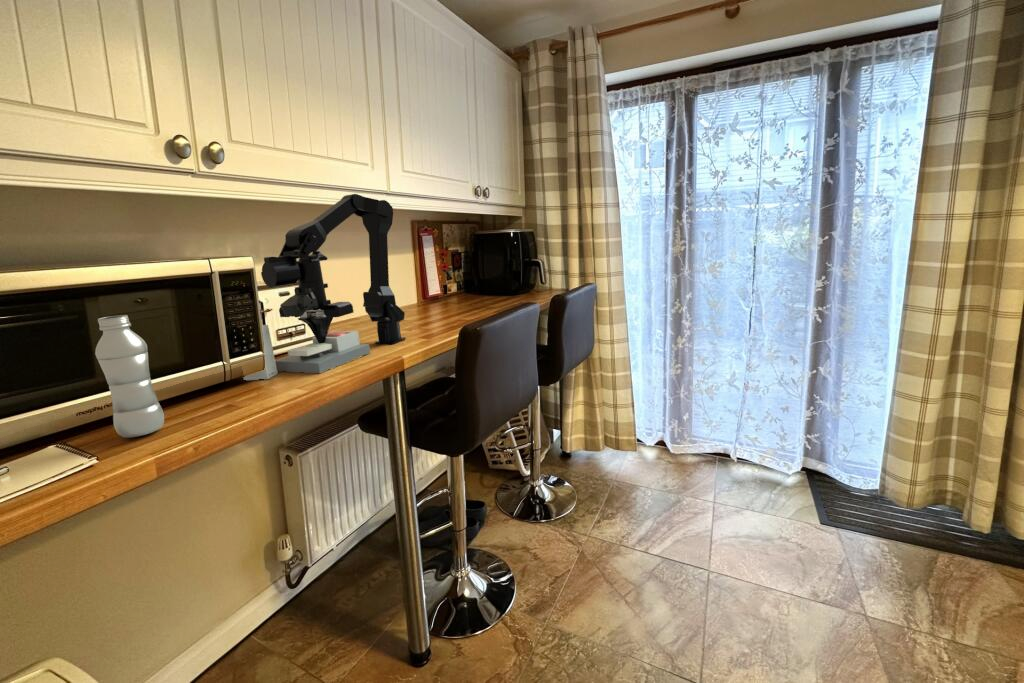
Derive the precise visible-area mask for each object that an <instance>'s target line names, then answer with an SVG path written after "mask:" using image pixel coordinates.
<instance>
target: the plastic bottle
mask: <svg viewBox="0 0 1024 683" xmlns="http://www.w3.org/2000/svg"><path fill="white" fill-rule="evenodd" d="M97 323H98V324H99V331H102V335H101V337H100V339H99V340H98V343H97V344H96V347H95V352H94V354H95V357H96V359H97V361H98V364H99V365H100V368H101V370H102V372H103V374H104V377H105V381H106V382H107V385H108V389H109V391H110V397H111V403H112V404H111V405H112V410H113V413H112V420H113V421H112V422H113V427H114V429H115V431H116V433H117V435H119V436H121V437H122V438H126V439H127V438H128V439H129V438H137V437H141V436H142V437H143V436H146V435H148V434H152V433H154V432H157V431H158V430H161V428H163V425H164V423H165V414H164V411H163V408H162V406H161V405H160V402H159V400H158V397H157V394H156V393H155V392H156V391H155V389H154V386H153V384H152V378H151V372H150V367H149V365H150V364H149V352H148V350H149V349H148V344H147V342H146V341H145V339H143V338H142V337H141V336H140V335H138V334H137V333H135V332H134V331H133V330H132V329H130V327H132V323H131V322H130V319H129V316H128V314H120V315H111V316H104V317H100V318H97Z"/></svg>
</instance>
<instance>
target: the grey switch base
mask: <svg viewBox="0 0 1024 683" xmlns="http://www.w3.org/2000/svg"><path fill="white" fill-rule="evenodd" d="M333 332H345V333H346V334H344V335H341V336H338V337H326V340H325V343H327V344H332V349H329V350H325V351H322V352H319V353H316V354H313V355H310V356H292V355H288V356H285V357H282V358H278V359H275V362H276V367H277V372H283V371H287V372H286V373H300V372H304V374H305V373H306V374H317V373H321V372H323V373H325V372H324V371H326V370H328V369H331V368H333V367H336V366H338V365H341V364H343V365H345V364H344V363H346V362H348V361H351V360H353V359H355V358H358V357H360V356H363V355H366V354H368V355H370V354H371V350H370V344H368V343H367V344H363V343H362V344H361V343H360V336H359V330H358V331H357V330H333V331H330V332H329V331H328V333H333ZM328 333H327V334H328ZM311 338H312V343H319V342H318V341H317V339H316V337H315V336H313V337H311ZM369 353H370V354H369ZM366 356H367V355H366ZM363 357H364V356H363ZM358 359H359V358H358ZM353 361H354V360H353ZM351 362H352V361H351ZM348 363H349V362H348ZM346 364H347V363H346ZM341 366H342V365H341ZM338 367H339V366H338ZM336 368H337V367H336ZM333 369H334V368H333ZM331 370H332V369H331ZM328 371H329V370H328ZM326 372H327V371H326ZM321 374H322V373H321Z"/></svg>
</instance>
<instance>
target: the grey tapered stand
mask: <svg viewBox="0 0 1024 683" xmlns="http://www.w3.org/2000/svg"><path fill="white" fill-rule="evenodd" d="M262 328H263V339H264V355H265V368H264V370H262V371H260V372H256V373H254V374H250V375H248V376H245V377H243V376H242V378H243V381H244V380H246V381H259V379H264V380H269V379H271V378H273V377H275V376H277V375H278V372H279V371H277V367H276V362H275V360H276V358H275V353H274V348H273V344H272V337H271V333H270V328H269V325H268V324H262Z"/></svg>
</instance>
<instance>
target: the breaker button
mask: <svg viewBox="0 0 1024 683" xmlns="http://www.w3.org/2000/svg"><path fill="white" fill-rule="evenodd" d="M332 332H333V331H332ZM344 334H346V333H345V332H333V333H329V332H328V334H327V336H326V337H338V336H341V335H344Z"/></svg>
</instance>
